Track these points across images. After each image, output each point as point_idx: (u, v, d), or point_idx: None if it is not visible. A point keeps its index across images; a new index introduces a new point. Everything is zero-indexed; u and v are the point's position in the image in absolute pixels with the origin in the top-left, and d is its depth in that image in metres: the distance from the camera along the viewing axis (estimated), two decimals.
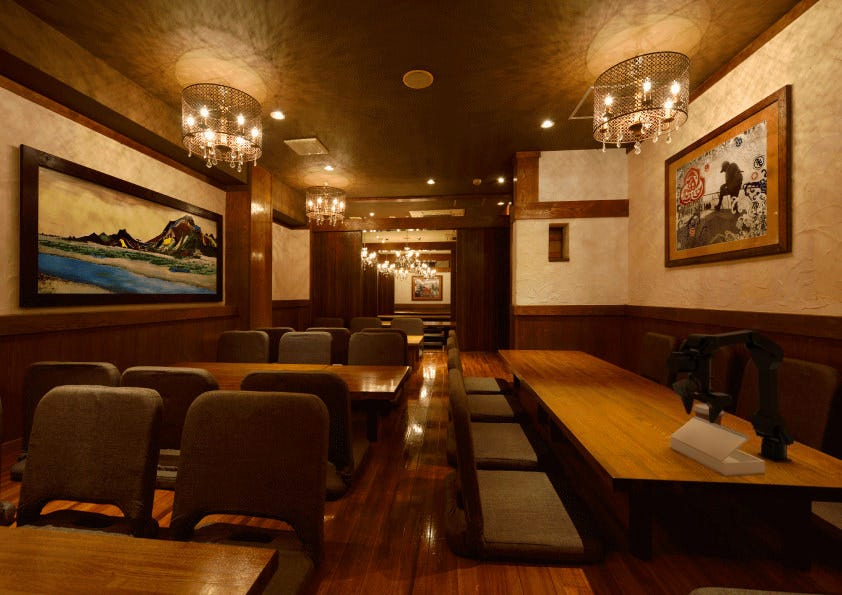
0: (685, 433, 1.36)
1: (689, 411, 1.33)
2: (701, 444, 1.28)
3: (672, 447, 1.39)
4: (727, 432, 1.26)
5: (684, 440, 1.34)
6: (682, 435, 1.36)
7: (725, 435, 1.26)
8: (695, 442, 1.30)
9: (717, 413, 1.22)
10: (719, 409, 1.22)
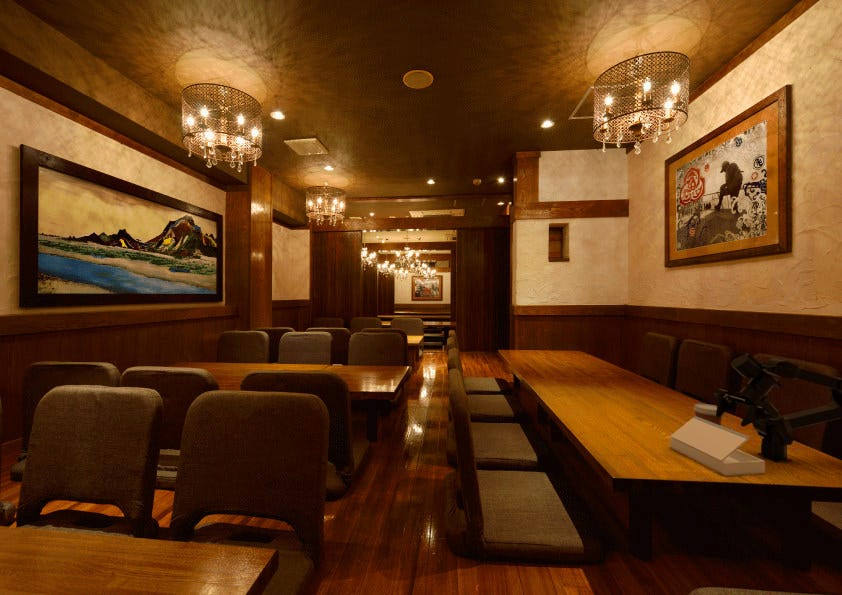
0: (685, 433, 1.36)
1: None
2: (701, 444, 1.28)
3: (672, 447, 1.39)
4: (727, 432, 1.26)
5: (684, 440, 1.34)
6: (682, 435, 1.36)
7: (725, 435, 1.26)
8: (695, 442, 1.30)
9: None
10: None
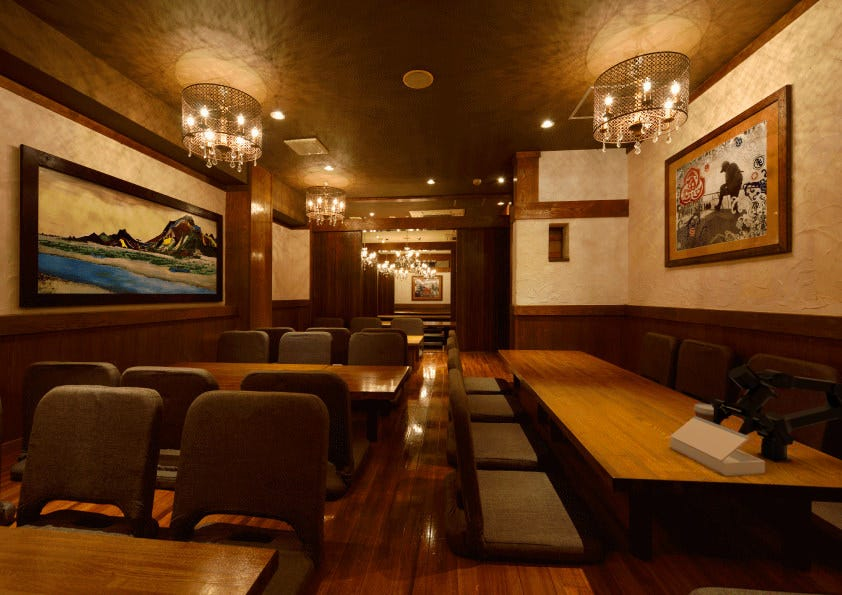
0: (685, 433, 1.36)
1: None
2: (701, 444, 1.28)
3: (672, 447, 1.39)
4: (727, 432, 1.26)
5: (684, 440, 1.34)
6: (682, 435, 1.36)
7: (725, 435, 1.26)
8: (695, 442, 1.30)
9: None
10: None
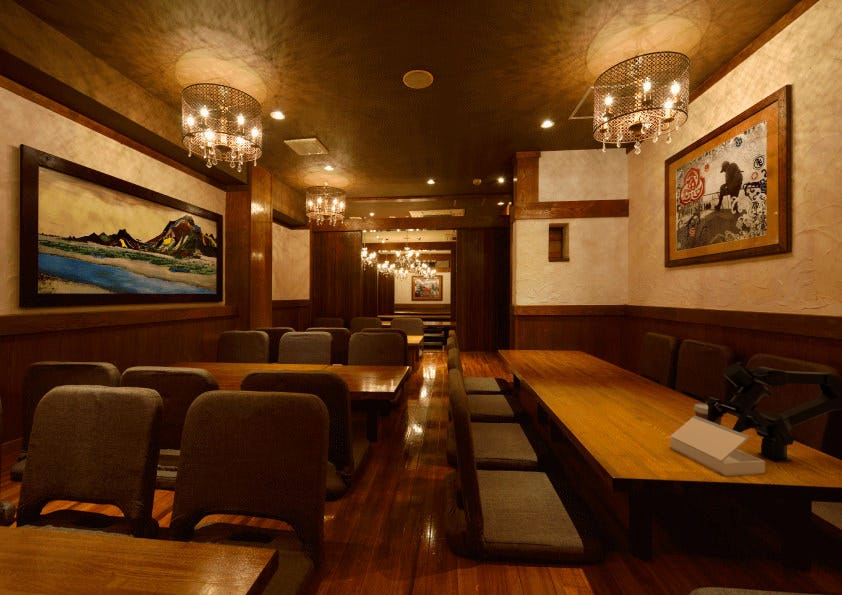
0: (685, 433, 1.36)
1: None
2: (701, 444, 1.28)
3: (672, 447, 1.39)
4: (727, 432, 1.26)
5: (684, 440, 1.34)
6: (682, 435, 1.36)
7: (724, 434, 1.26)
8: (695, 442, 1.30)
9: None
10: None
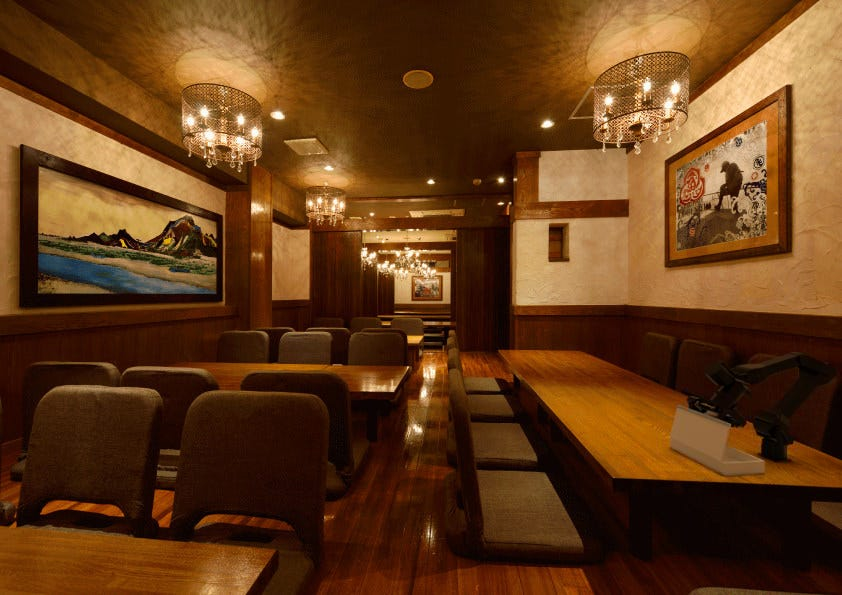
0: (679, 430, 1.36)
1: None
2: (697, 443, 1.28)
3: (672, 447, 1.39)
4: (710, 421, 1.25)
5: (682, 440, 1.34)
6: (678, 434, 1.36)
7: (710, 425, 1.25)
8: (692, 441, 1.30)
9: None
10: None
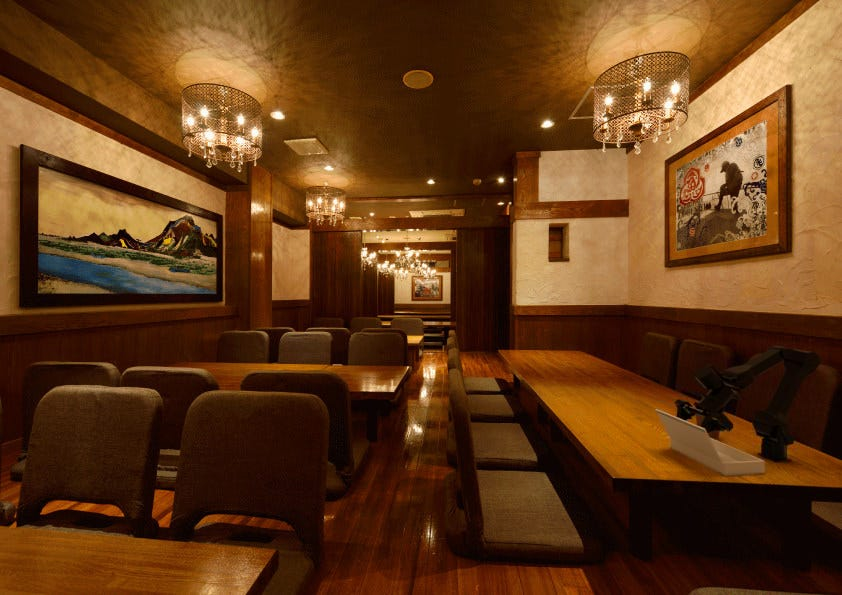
0: (672, 432, 1.36)
1: None
2: (693, 445, 1.28)
3: (672, 447, 1.39)
4: (689, 426, 1.24)
5: (681, 441, 1.34)
6: (674, 436, 1.36)
7: (691, 430, 1.24)
8: (688, 443, 1.30)
9: None
10: None
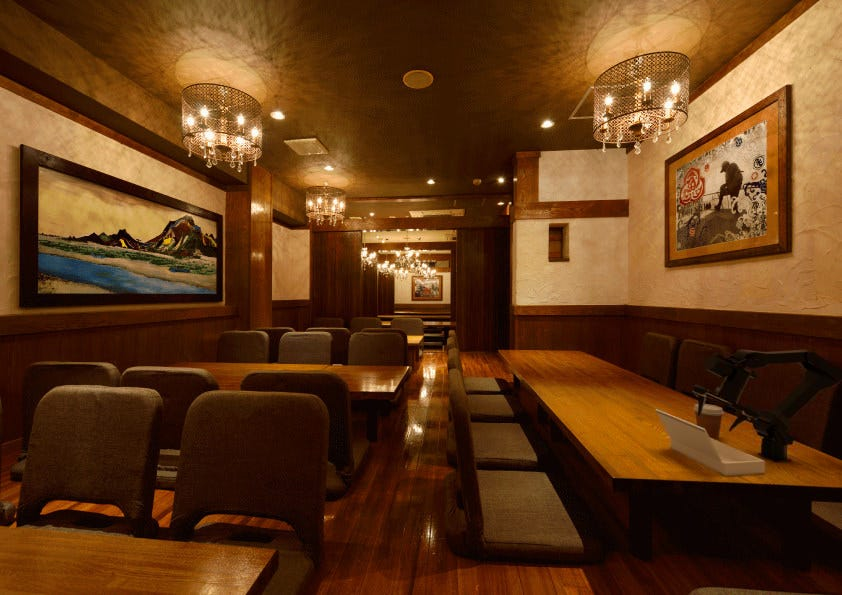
0: (672, 432, 1.36)
1: (730, 428, 1.29)
2: (693, 445, 1.28)
3: (672, 447, 1.39)
4: (689, 426, 1.24)
5: (681, 441, 1.34)
6: (674, 436, 1.36)
7: (691, 430, 1.24)
8: (688, 443, 1.30)
9: None
10: None
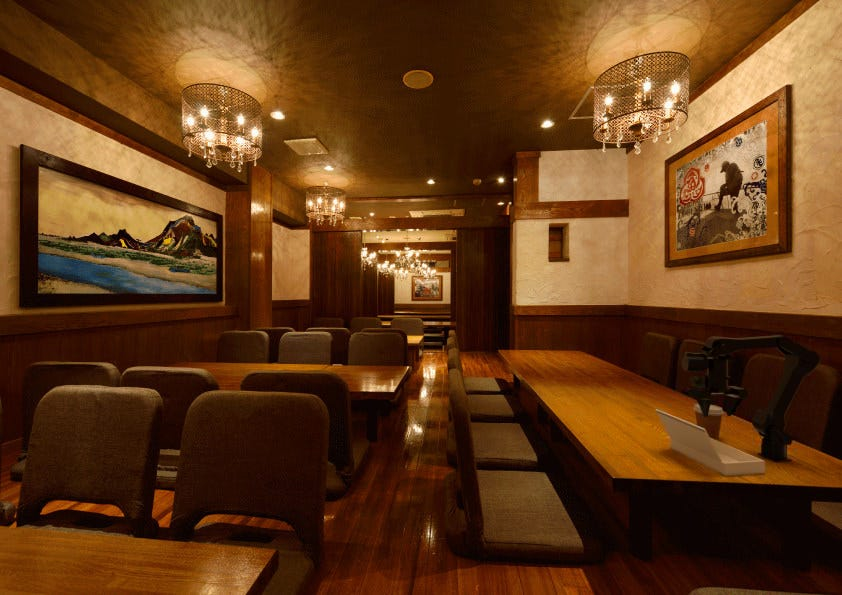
0: (672, 432, 1.36)
1: (728, 413, 1.36)
2: (693, 445, 1.28)
3: (672, 447, 1.39)
4: (689, 426, 1.24)
5: (681, 441, 1.34)
6: (674, 436, 1.36)
7: (691, 430, 1.24)
8: (688, 443, 1.30)
9: (704, 408, 1.34)
10: (704, 404, 1.34)
